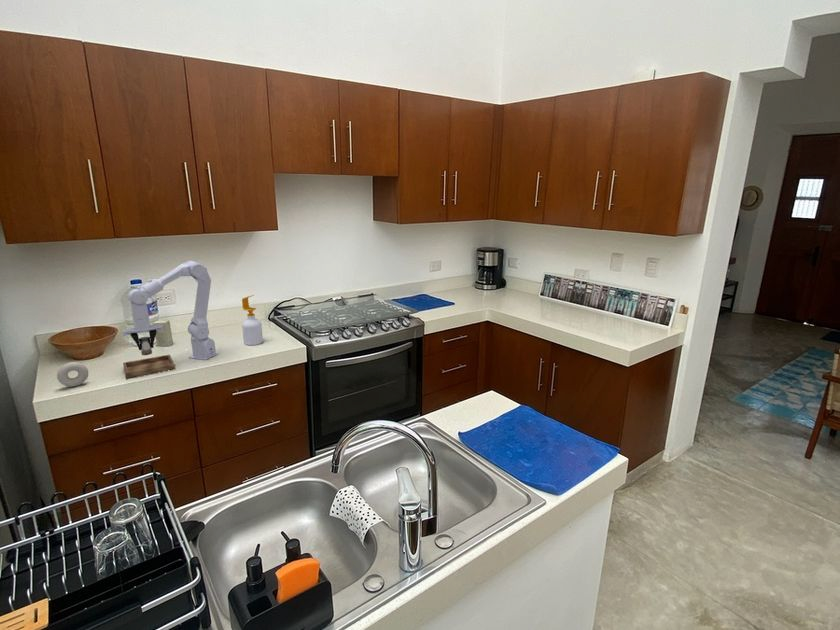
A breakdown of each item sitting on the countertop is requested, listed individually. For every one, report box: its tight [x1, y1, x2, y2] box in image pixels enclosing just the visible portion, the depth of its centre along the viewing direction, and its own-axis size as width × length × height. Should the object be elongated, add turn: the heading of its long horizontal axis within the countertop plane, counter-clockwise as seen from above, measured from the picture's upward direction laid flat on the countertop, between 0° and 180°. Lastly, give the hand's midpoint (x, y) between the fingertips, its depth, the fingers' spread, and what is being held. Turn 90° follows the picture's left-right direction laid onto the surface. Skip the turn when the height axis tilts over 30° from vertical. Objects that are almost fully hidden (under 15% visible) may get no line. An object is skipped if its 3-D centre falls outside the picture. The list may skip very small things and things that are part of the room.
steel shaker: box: [139, 336, 153, 356], centre depth 194 cm, size 4×4×7 cm
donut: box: [56, 361, 89, 388], centre depth 178 cm, size 10×3×10 cm, turn 133°
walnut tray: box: [122, 354, 176, 380], centre depth 196 cm, size 18×14×2 cm
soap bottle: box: [241, 294, 264, 346], centre depth 227 cm, size 9×9×25 cm
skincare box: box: [152, 320, 174, 347], centre depth 224 cm, size 6×4×12 cm
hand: (146, 348), depth 194 cm, fingers closed on steel shaker, 4 cm apart
